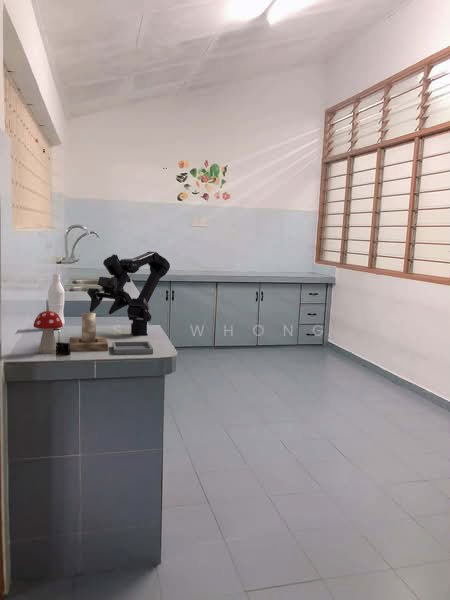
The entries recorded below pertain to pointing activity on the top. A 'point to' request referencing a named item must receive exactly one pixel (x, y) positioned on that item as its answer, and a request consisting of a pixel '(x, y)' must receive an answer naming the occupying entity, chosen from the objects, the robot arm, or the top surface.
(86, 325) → the dowel
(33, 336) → the top surface
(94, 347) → the holder
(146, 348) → the tray
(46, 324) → the decorative mushroom
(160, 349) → the top surface
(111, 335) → the top surface
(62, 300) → the water bottle
